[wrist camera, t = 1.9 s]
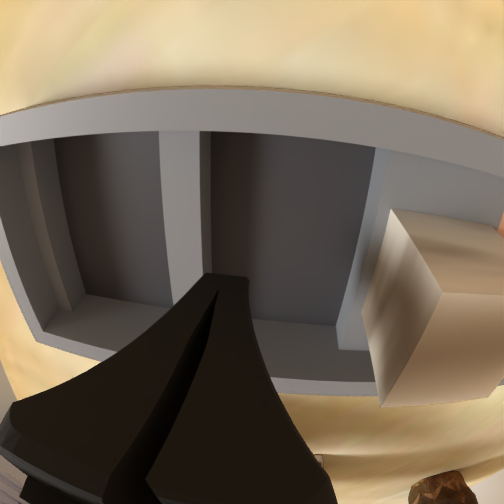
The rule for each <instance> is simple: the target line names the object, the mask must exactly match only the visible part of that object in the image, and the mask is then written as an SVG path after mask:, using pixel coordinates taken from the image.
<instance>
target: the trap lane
mask: <svg viewBox="0 0 504 504" xmlns="http://www.w3.org/2000/svg"><path fill="white" fill-rule="evenodd" d="M391 208H392V209H399V210H406V211H412V212H419V213H425V214H431V215H437V216H443V217H449V218H455V219H460V220H466V221H471V222H477V223H482V224H487V225H491V226H492V227H493V228H494V229H495V230H496V231H497V232H498V233H499V234H500V235H501V236H502V237H503V238H504V138H503V137H501V136H498V135H496V134H493V133H490V132H487V131H485V130H482V129H479V128H476V127H473V126H470V125H467V124H464V123H461V122H457V121H454V120H451V119H447V118H444V117H440V116H437V115H433V114H429V113H426V112H422V111H418V110H414V109H410V108H405V107H401V106H397V105H392V104H387V103H382V102H377V101H372V100H367V99H361V98H355V97H349V96H343V95H336V94H329V93H321V92H313V91H304V90H293V89H282V88H268V87H248V86H179V87H159V88H146V89H134V90H124V91H115V92H107V93H100V94H93V95H86V96H80V97H74V98H69V99H63V100H58V101H53V102H48V103H44V104H39V105H35V106H31V107H26V108H23V109H19V110H16V111H13V112H9V113H6V114H3V115H0V260H1V263H2V265H3V268H4V271H5V274H6V276H7V279H8V281H9V284H10V286H11V289H12V291H13V293H14V296H15V298H16V300H17V303H18V305H19V307H20V309H21V312H22V314H23V316H24V318H25V320H26V322H27V324H28V326H29V328H30V330H31V332H32V334H33V336H34V338H35V340H36V342H39V343H42V344H45V345H48V346H51V347H54V348H57V349H60V350H63V351H66V352H70V353H73V354H76V355H80V356H83V357H86V358H90V359H93V360H97V361H101V362H103V361H104V360H106V359H107V358H109V357H111V356H112V355H114V354H115V353H117V352H118V351H120V350H121V349H122V348H124V347H125V346H127V345H128V344H129V343H131V342H132V341H133V340H135V339H136V338H137V337H138V336H140V335H141V334H142V333H143V332H145V331H146V330H147V329H148V328H149V327H150V326H151V325H153V324H154V323H155V322H156V321H157V320H158V319H160V318H161V317H162V316H163V315H164V314H165V313H166V312H167V311H168V310H169V309H170V308H171V307H172V306H173V305H174V304H175V303H177V302H178V301H179V300H180V299H181V298H182V297H183V296H184V295H185V294H186V292H187V291H188V290H189V289H190V288H191V287H192V286H193V285H194V284H195V283H196V282H197V281H198V280H199V279H200V278H201V277H202V276H203V275H204V274H205V273H215V274H224V275H234V276H243V277H247V278H248V279H249V280H250V282H249V307H250V313H251V318H252V322H253V327H254V331H255V335H256V338H257V342H258V345H259V348H260V351H261V354H262V357H263V360H264V363H265V365H266V368H267V370H268V373H269V375H270V378H271V380H272V382H273V385H274V387H275V389H276V391H277V393H289V394H304V395H324V396H378V392H377V387H376V381H375V375H374V370H373V365H372V360H371V354H370V350H369V345H368V340H367V335H366V330H365V326H364V321H363V317H362V313H361V312H362V309H363V306H364V303H365V300H366V297H367V294H368V291H369V288H370V284H371V281H372V278H373V274H374V271H375V268H376V264H377V261H378V257H379V253H380V250H381V246H382V242H383V238H384V235H385V231H386V227H387V223H388V218H389V214H390V210H391ZM500 385H504V378H503V380H502V381H501V382H500V383H499V385H498V386H500Z"/></svg>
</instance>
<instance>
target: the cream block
mask: <svg viewBox="0 0 504 504" xmlns="http://www.w3.org/2000/svg"><path fill="white" fill-rule="evenodd" d="M361 313H362V317H363V321H364V326H365V330H366V335H367V340H368V345H369V350H370V354H371V360H372V365H373V370H374V375H375V381H376V387H377V392H378V398H379V404H380V408H386V407H407V406H421V405H433V404H443V403H452V402H460V401H467V400H474V399H480V398H487V397H489V395H490V394H491V393H492V392H493V391H494V389H495V388H496V387H497V386H498V385H499V383H500V382H501V381H502V380H503V378H504V238H503V237H502V236H501V235H500V234H499V233H498V232H497V231H496V230H495V229H494V228H493V227H492V226H491V225H487V224H482V223H477V222H471V221H466V220H460V219H455V218H449V217H443V216H437V215H431V214H425V213H419V212H412V211H406V210H399V209H392V208H391V210H390V214H389V218H388V223H387V227H386V231H385V235H384V238H383V242H382V246H381V250H380V253H379V257H378V261H377V264H376V268H375V271H374V274H373V278H372V281H371V284H370V288H369V291H368V294H367V297H366V300H365V303H364V306H363V309H362V312H361Z"/></svg>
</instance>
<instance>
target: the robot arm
mask: <svg viewBox="0 0 504 504" xmlns="http://www.w3.org/2000/svg"><path fill="white" fill-rule="evenodd" d="M249 282H250V280H249V279H248V278H247V277H243V276H234V275H224V274H215V273H205V274H204V275H203V276H202V277H201V278H200V279H199V280H198V281H197V282H196V283H195V284H194V285H193V286H192V287H191V288H190V289H189V290H188V291H187V292H186V294H185V295H184V296H183V297H182V298H181V299H180V300H179V301H178V302H177V303H175V304H174V305H173V306H172V307H171V308H170V309H169V310H168V311H167V312H166V313H165V314H164V315H163V316H162V317H161V318H160V319H158V320H157V321H156V322H155V323H154V324H153V325H151V326H150V327H149V328H148V329H147V330H146V331H145V332H143V333H142V334H141V335H140V336H138V337H137V338H136V339H135V340H133V341H132V342H131V343H129V344H128V345H127V346H125V347H124V348H122V349H121V350H120V351H118V352H117V353H115V354H114V355H112V356H111V357H109V358H107V359H106V360H104V361H103V362H101V363H99V364H98V365H96V366H94V367H93V368H91V369H89V370H88V371H86V372H84V373H82V374H80V375H78V376H76V377H74V378H72V379H71V380H68V381H66V382H64V383H62V384H60V385H58V386H56V387H53V388H51V389H49V390H46V391H44V392H41V393H38V394H36V395H33V396H30V397H27V398H25V399H22V400H19V401H16V402H13V403H12V405H11V406H10V408H9V410H8V411H7V413H6V415H5V417H4V418H3V420H2V422H1V424H0V455H2V456H3V457H4V458H5V459H6V460H8V461H9V462H10V463H11V464H13V465H14V466H15V467H17V468H18V469H19V470H21V471H22V472H23V473H25V474H26V475H27V476H28V477H27V479H26V481H25V483H24V484H23V483H21V482H20V481H18V480H17V479H15V478H14V477H12V476H10V475H9V474H7V473H6V472H4V471H3V470H2V469H0V504H338V503H337V499H336V496H335V492H334V489H333V486H332V483H331V480H330V477H329V475H328V474H327V473H326V471H325V470H324V469H323V467H322V466H321V465H320V463H319V462H318V461H317V459H316V458H315V456H314V455H313V453H312V452H311V451H310V449H309V448H308V446H307V445H306V443H305V441H304V440H303V438H302V437H301V435H300V434H299V432H298V430H297V429H296V427H295V425H294V424H293V422H292V420H291V418H290V416H289V414H288V412H287V411H286V409H285V407H284V405H283V403H282V401H281V399H280V398H279V395H278V393H277V391H276V389H275V387H274V385H273V382H272V380H271V378H270V375H269V373H268V370H267V368H266V365H265V363H264V360H263V357H262V354H261V351H260V348H259V345H258V342H257V338H256V335H255V331H254V327H253V322H252V318H251V313H250V307H249Z"/></svg>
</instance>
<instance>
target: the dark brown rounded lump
mask: <svg viewBox="0 0 504 504" xmlns="http://www.w3.org/2000/svg"><path fill="white" fill-rule="evenodd" d="M408 501H409V504H478V502H477V499H476V496H475V494H474V493H473V492H472V491H471V489H470V488H469V487H468V486H467V485H466V483H465V481H464V478H463V476H462V475H461V474H460V473H459V472H458V471H450V472H445V473H441V474H438V475H435V476H431V477H429V478H426V479H423V480H420V482H418V483H416V484H415V485H413V486H412V487H411V490H410V493H409V497H408Z"/></svg>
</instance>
